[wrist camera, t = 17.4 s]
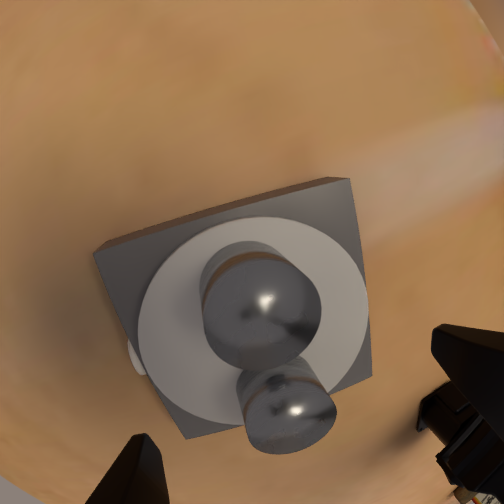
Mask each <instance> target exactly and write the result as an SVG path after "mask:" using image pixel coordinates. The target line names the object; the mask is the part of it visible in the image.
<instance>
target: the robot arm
mask: <svg viewBox="0 0 504 504" xmlns="http://www.w3.org/2000/svg"><path fill="white" fill-rule="evenodd" d="M431 352H432V355H433V357H434V358H435V359H436V361H437V362H438V363H439V365H440V366H441V367H442V369H443V370H444V371H445V373H446V374H447V376H448V377H449V378H450V380H451V382H449V383H448V384H446V385H445V386H443V387H442V388H440V389H439V390H437V391H436V392H434V393H432V394H431V395H429V396H428V397H426V398H425V399H423V400H422V402H421V406H420V412H419V418H418V424H417V429H416V430H417V431H418V432H421V431H422V430H424V429H425V428H427V427H428V428H429V429H430V430H431V431H432V432H433V433H434V434H435V435H436V436H437V437H438V438H439V440H440V441H441V442H442V443H443V444H444V445H445V446H446V447H445V448H444V449H443V450H442V451H441V452H440V453H438V454H437V455H436V456H435V457H436V458H437V460H436V462H437V463H438V464H439V465H440V466H441V468H442V469H443V471H444V473H445V475H446V477H447V479H448V481H449V483H450V484H451V485H457V486H459V487H461V488H466V489H467V490H468V491H471V492H476V493H482V494H488V495H494V496H495V498H496V499H497V500H498V501H499V502H500V504H504V332H497V331H490V330H483V329H476V328H469V327H463V326H456V325H450V324H441V325H439V326H437V327H436V328H434V329H433V331H432V340H431ZM85 504H170V501H169V494H168V489H167V484H166V478H165V473H164V467H163V461H162V455H161V452H160V450H159V449H158V447H157V446H156V445H155V443H154V442H153V441H152V439H151V438H150V437H149V435H148V434H146V433H142V434H136V435H133V436H132V437H131V438H130V440H129V441H128V443H127V444H126V446H125V447H124V448H123V450H122V451H121V453H120V454H119V456H118V457H117V458H116V460H115V461H114V463H113V464H112V466H111V467H110V468H109V470H108V471H107V473H106V474H105V476H104V477H103V478H102V480H101V481H100V483H99V484H98V486H97V487H96V488H95V490H94V491H93V493H92V494H91V496H90V497H89V498H88V500H87V501H86V503H85Z"/></svg>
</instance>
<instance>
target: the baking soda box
mask: <svg viewBox="0 0 504 504" xmlns="http://www.w3.org/2000/svg"><path fill="white" fill-rule="evenodd" d="M471 500H472V501H473V502H474V503H475V504H500V502H499V501H498V500H497V499H496V498H495V496H494V495H488V494H482V493H478V494H477V495H476V496H475V497H474V498H473V499H471Z"/></svg>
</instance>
